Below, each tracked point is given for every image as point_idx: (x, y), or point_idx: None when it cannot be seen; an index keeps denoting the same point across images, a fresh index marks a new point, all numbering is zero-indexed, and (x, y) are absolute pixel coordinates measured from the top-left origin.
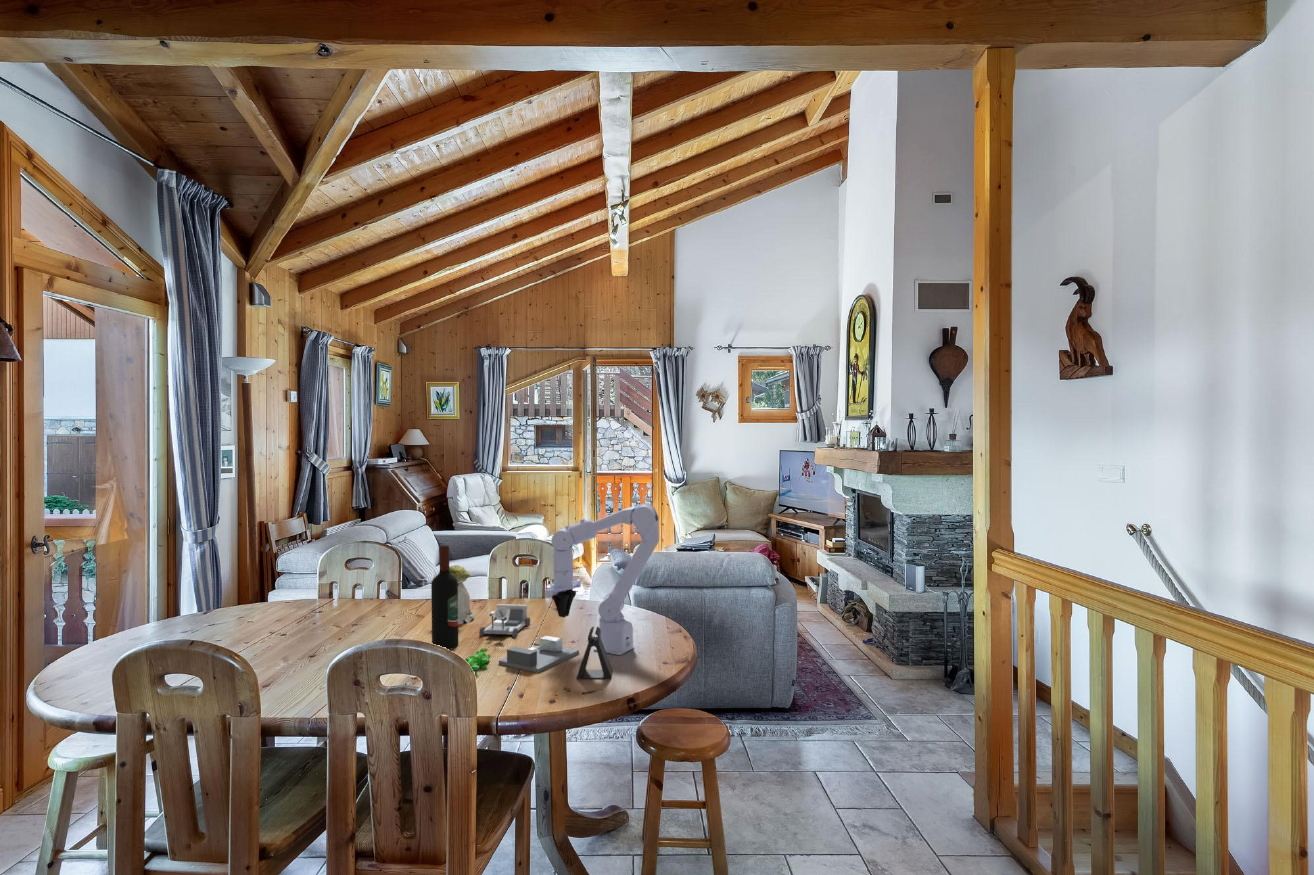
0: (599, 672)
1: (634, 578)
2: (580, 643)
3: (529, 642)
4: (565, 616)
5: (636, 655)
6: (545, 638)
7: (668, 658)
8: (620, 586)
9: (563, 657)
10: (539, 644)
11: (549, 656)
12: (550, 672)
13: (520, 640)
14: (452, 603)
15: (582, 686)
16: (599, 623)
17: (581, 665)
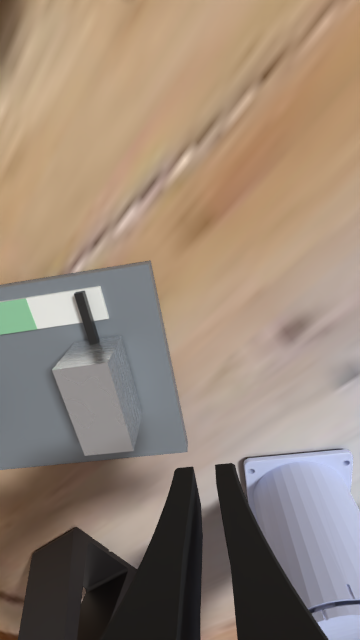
0: (102, 569)
1: None
2: (291, 369)
3: (150, 154)
4: (199, 508)
5: None
6: (74, 394)
7: None
8: None
9: (93, 460)
10: (65, 353)
11: (60, 423)
12: (5, 482)
13: (138, 64)
14: None
15: (19, 577)
16: (296, 585)
17: (26, 603)
